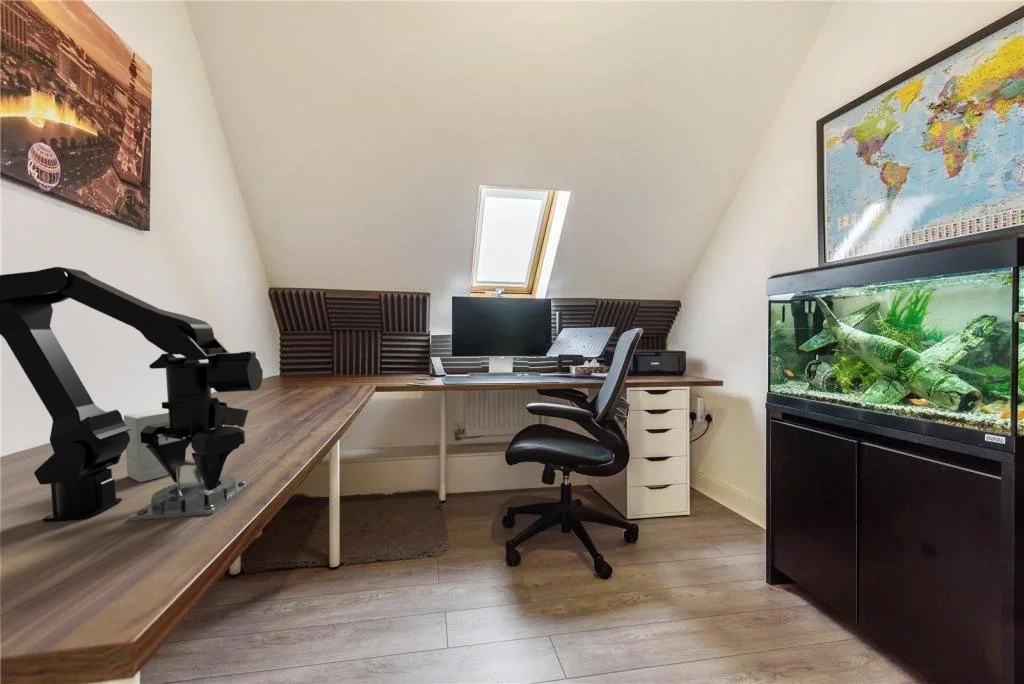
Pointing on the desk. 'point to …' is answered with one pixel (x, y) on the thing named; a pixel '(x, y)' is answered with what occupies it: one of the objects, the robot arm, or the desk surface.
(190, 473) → the silver metal cylinder
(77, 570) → the desk surface
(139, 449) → the supplement box
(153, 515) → the duct flange
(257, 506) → the desk surface
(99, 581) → the desk surface
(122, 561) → the desk surface
